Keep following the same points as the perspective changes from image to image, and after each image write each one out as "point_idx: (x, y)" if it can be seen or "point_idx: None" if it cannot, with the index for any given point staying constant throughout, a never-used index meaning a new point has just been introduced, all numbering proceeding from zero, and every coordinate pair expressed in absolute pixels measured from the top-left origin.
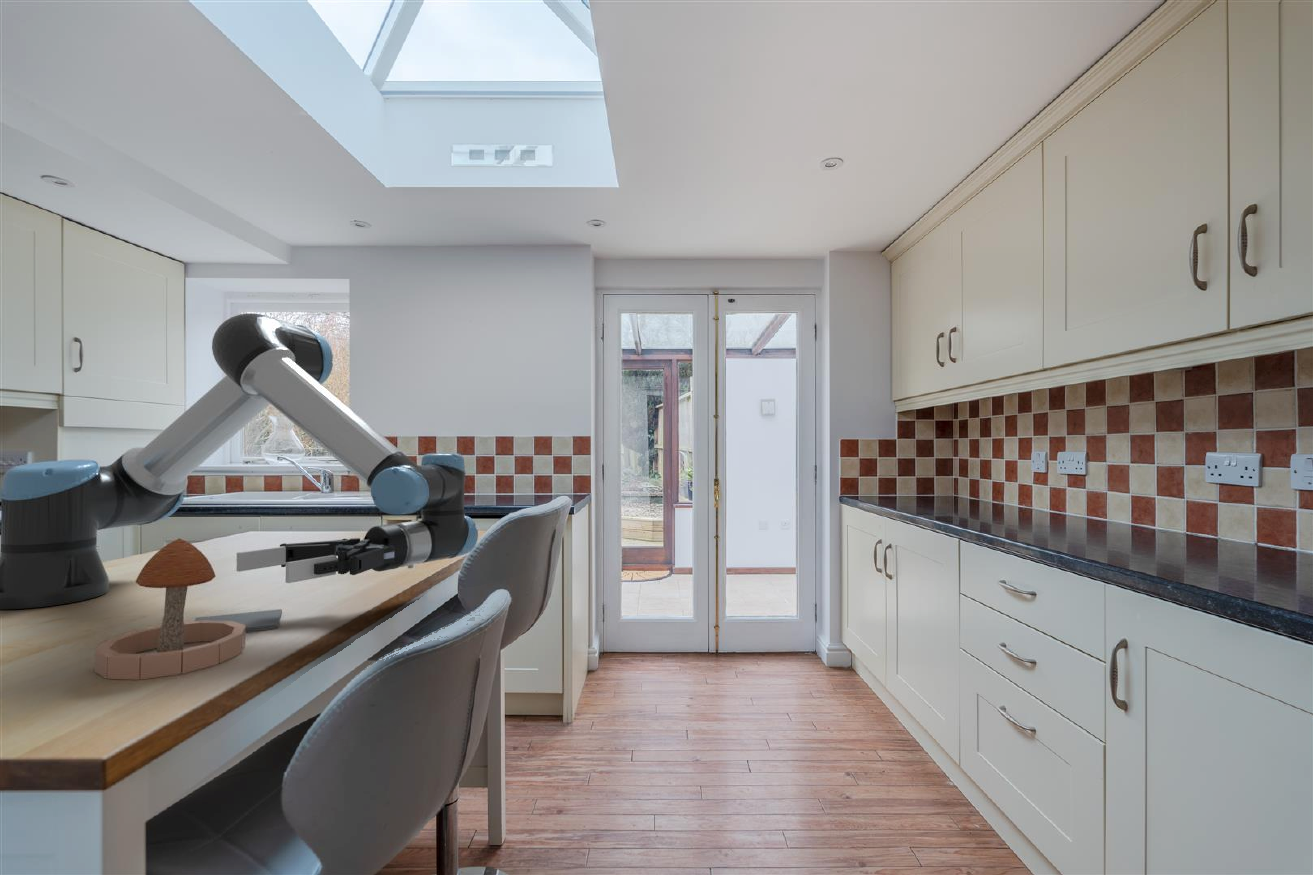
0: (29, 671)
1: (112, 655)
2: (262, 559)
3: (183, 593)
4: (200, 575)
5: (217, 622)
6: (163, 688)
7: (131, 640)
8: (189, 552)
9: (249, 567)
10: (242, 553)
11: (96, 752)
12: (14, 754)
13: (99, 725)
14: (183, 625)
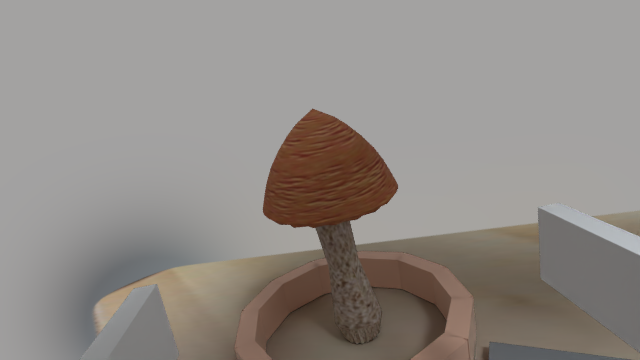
0: (421, 243)
1: (314, 263)
2: (614, 293)
3: (318, 229)
4: (266, 202)
5: (422, 357)
6: (212, 327)
7: (419, 275)
8: (283, 145)
9: (568, 289)
10: (545, 214)
11: (111, 297)
12: (177, 267)
13: (168, 294)
14: (342, 292)
